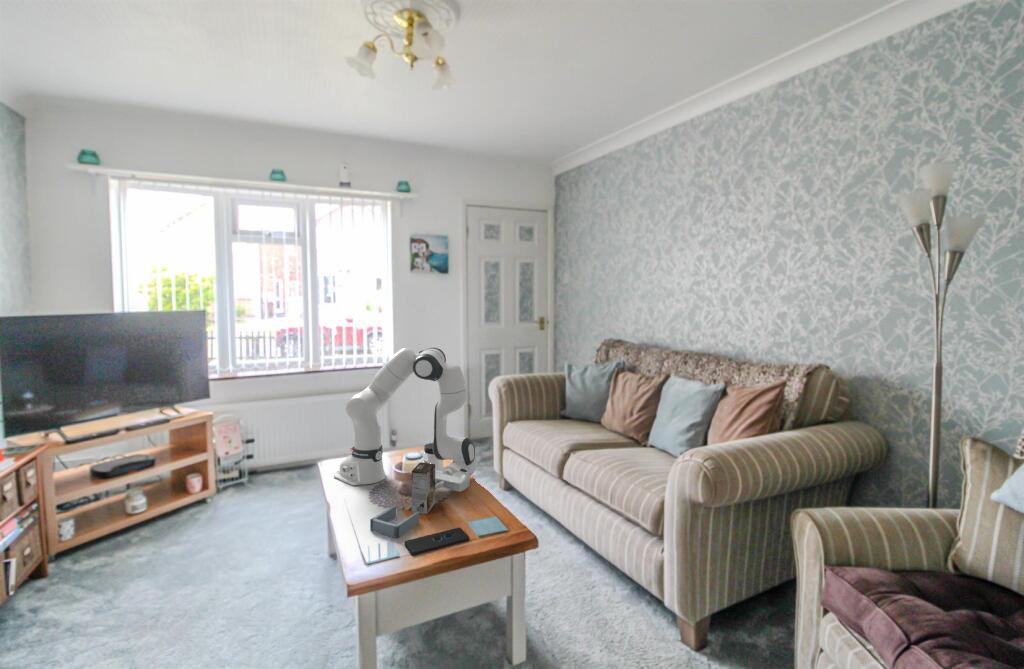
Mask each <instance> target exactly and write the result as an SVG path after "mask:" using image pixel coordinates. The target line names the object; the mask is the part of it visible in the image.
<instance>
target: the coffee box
mask: <svg viewBox="0 0 1024 669" xmlns="http://www.w3.org/2000/svg"><path fill="white" fill-rule="evenodd" d="M435 504H436V490H435V464H430V463H423V461H422V462H419V463H418V464H417V465H416V466H415V467H414V468H413V469H412V470H411V513H415V512H419V514H428V513H429V512H430V511H431V510H432V508H433V507H434V505H435Z"/></svg>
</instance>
